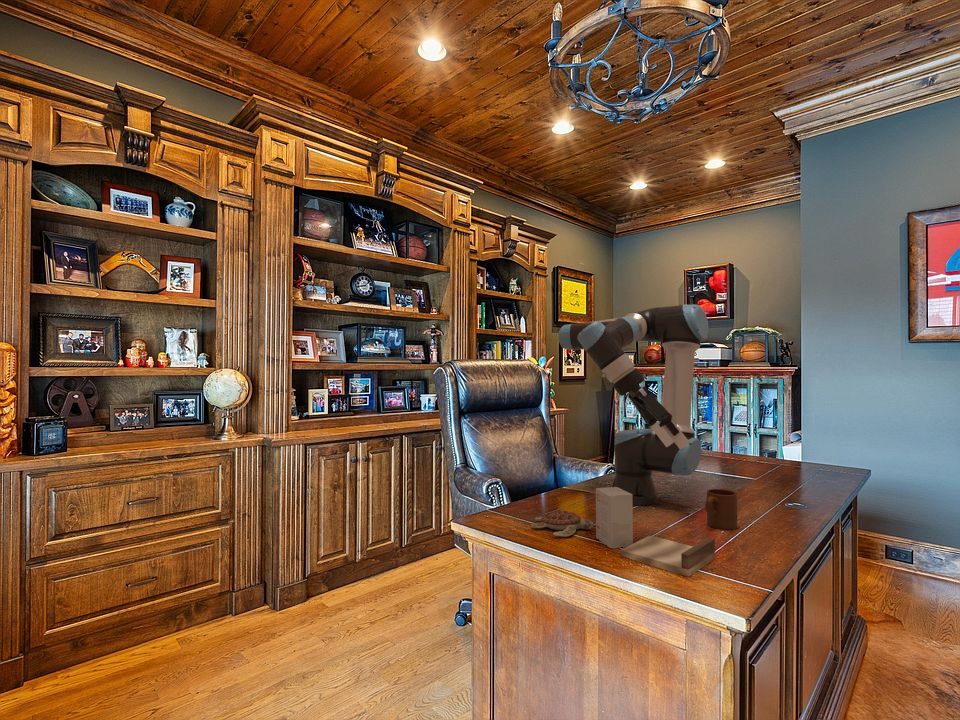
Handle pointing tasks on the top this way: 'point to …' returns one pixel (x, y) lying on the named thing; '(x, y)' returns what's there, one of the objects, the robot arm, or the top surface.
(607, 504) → the small box
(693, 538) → the top surface
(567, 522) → the decorative turtle
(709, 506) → the mug
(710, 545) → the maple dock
